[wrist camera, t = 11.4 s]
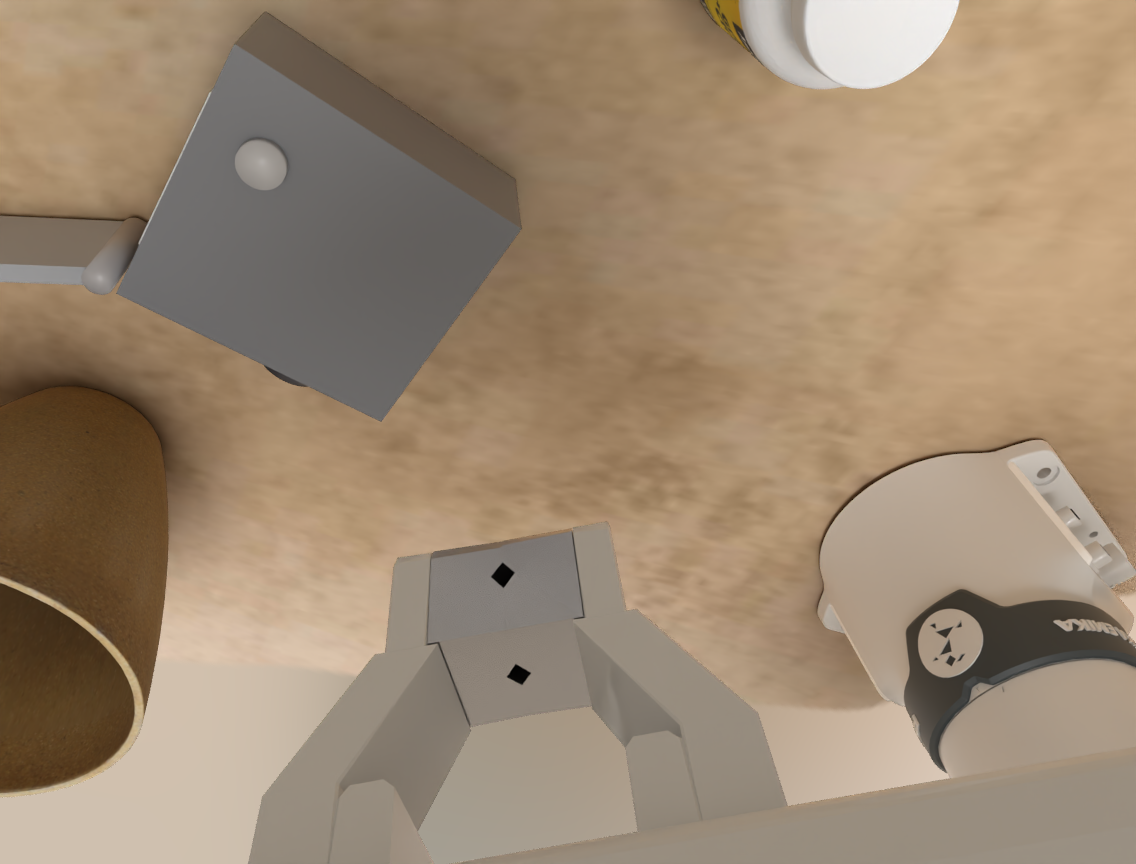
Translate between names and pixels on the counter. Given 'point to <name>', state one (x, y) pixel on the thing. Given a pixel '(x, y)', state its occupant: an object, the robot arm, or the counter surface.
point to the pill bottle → (836, 37)
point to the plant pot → (77, 584)
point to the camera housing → (320, 224)
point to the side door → (68, 250)
